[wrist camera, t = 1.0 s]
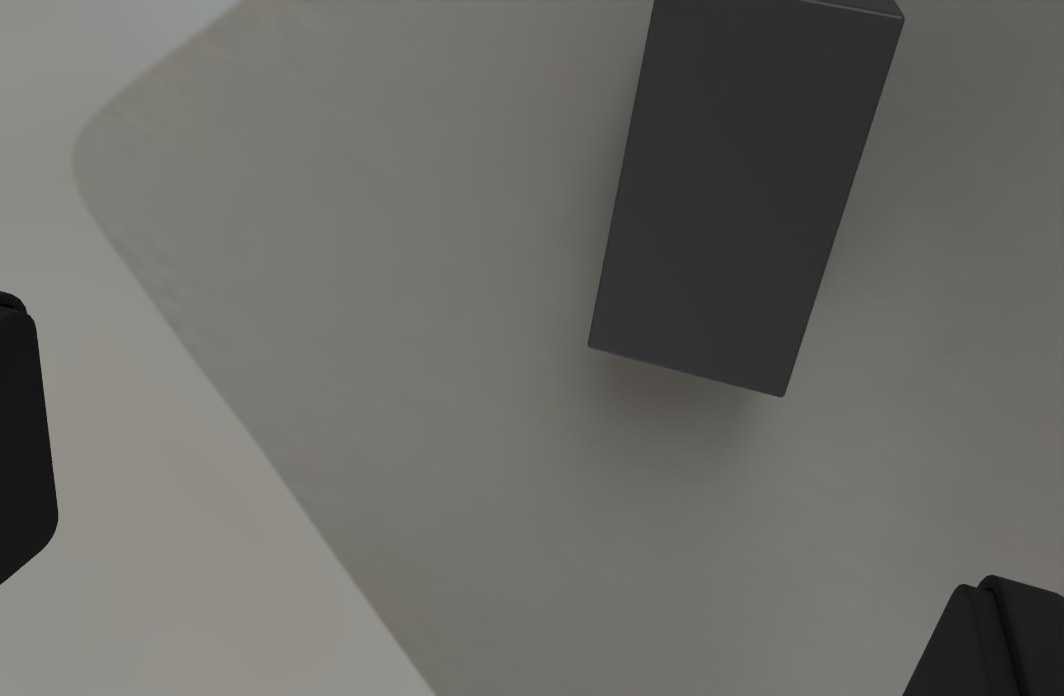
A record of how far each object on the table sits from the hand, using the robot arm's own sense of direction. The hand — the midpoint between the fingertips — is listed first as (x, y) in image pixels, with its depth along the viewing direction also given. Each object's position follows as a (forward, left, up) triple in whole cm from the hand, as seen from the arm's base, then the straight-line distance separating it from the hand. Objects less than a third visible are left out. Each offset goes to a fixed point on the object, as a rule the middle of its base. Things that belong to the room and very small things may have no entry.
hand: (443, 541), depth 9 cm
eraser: (0, +2, -19) cm, 19 cm away
